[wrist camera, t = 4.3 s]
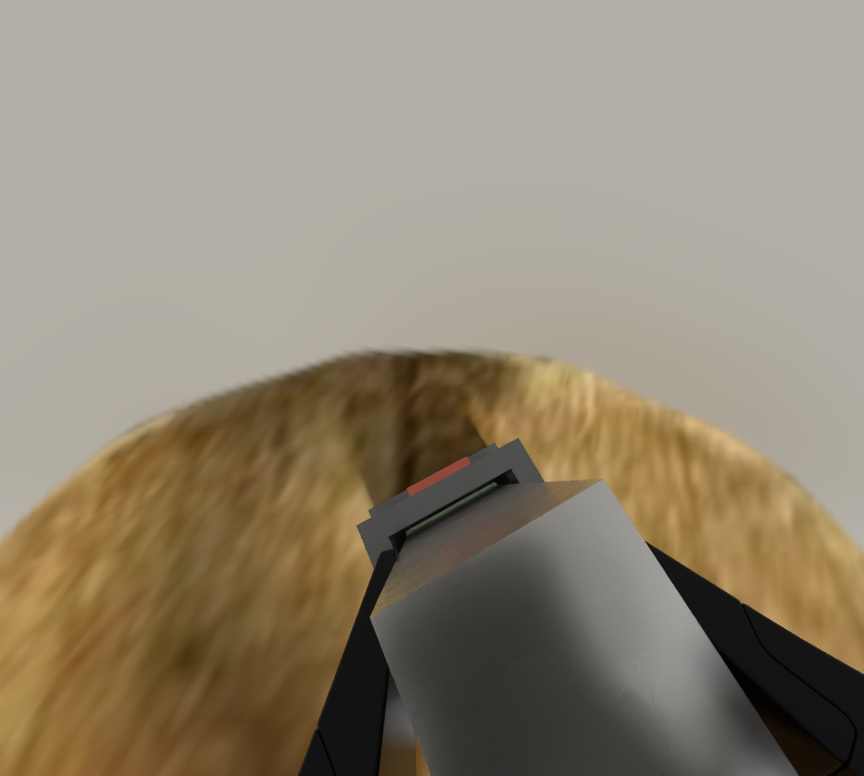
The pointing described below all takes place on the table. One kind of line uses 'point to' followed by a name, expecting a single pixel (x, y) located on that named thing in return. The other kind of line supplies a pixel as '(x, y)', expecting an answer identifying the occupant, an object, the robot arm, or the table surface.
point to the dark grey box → (444, 493)
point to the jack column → (557, 646)
